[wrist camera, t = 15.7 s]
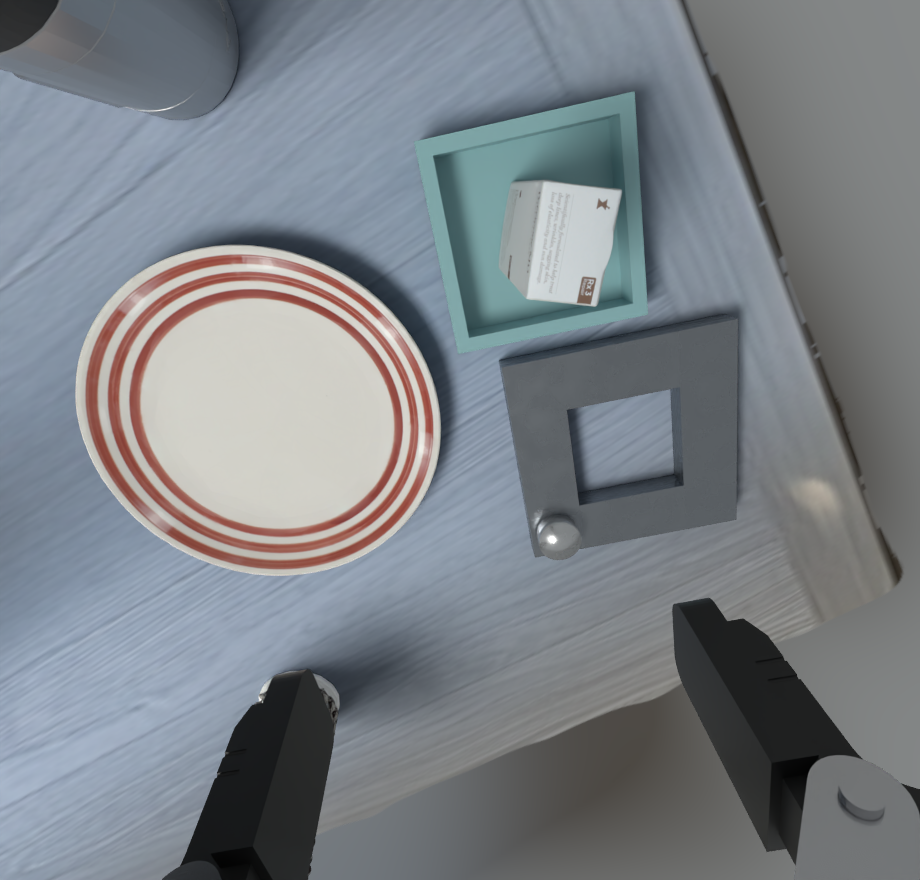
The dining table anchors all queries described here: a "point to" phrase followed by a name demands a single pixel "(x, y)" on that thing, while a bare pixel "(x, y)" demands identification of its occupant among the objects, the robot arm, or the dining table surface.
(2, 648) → the dining table surface
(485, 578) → the dining table surface
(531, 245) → the skincare box
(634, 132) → the tray
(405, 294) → the dining table surface
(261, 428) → the dinner plate
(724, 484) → the socket block
